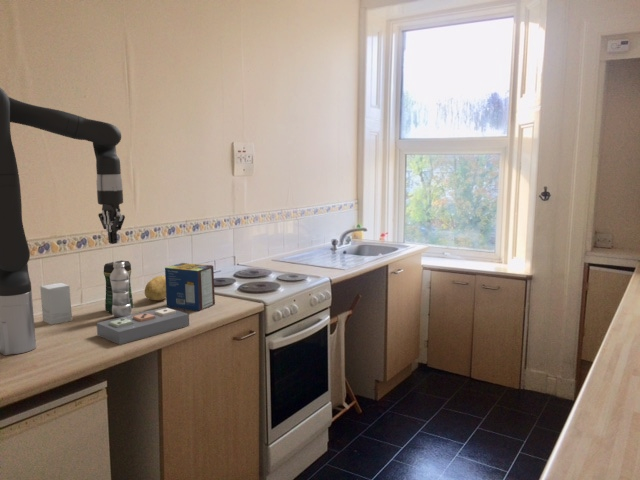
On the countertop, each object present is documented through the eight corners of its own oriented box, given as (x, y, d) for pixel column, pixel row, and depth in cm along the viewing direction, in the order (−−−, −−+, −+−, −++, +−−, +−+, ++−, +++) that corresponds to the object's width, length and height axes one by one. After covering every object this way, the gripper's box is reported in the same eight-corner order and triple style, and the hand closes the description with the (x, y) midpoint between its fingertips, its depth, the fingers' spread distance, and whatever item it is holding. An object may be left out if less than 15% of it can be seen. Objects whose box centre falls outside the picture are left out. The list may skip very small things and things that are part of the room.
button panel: (119, 344, 158) (119, 331, 158) (97, 335, 167) (96, 322, 167) (189, 325, 177) (188, 314, 176) (165, 317, 186) (165, 306, 185)
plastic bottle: (125, 320, 184) (122, 263, 181) (108, 319, 185) (104, 263, 182) (135, 314, 190) (132, 260, 187) (118, 313, 191) (115, 260, 188)
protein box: (182, 300, 210) (181, 262, 208) (215, 304, 204) (214, 265, 202) (165, 307, 200) (163, 267, 198) (199, 311, 194) (197, 270, 192)
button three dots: (141, 332, 169) (141, 318, 168) (133, 329, 172) (132, 315, 171) (155, 328, 172) (154, 315, 172) (147, 325, 176) (146, 312, 175)
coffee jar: (117, 314, 190) (114, 264, 188) (101, 312, 194) (98, 262, 191) (137, 308, 199) (134, 260, 196) (121, 305, 202) (119, 258, 200)
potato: (180, 297, 215) (179, 274, 214) (152, 305, 203) (151, 281, 202) (162, 294, 220) (161, 272, 219) (135, 302, 208) (133, 278, 207)
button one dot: (163, 326, 175) (163, 313, 174) (155, 323, 178) (154, 310, 177) (176, 323, 178) (175, 310, 178) (168, 320, 182) (167, 307, 181)
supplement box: (72, 320, 183) (70, 285, 182) (50, 325, 178) (47, 289, 176) (64, 316, 188) (61, 282, 186) (42, 321, 183) (39, 285, 181)
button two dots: (118, 338, 163) (117, 324, 162) (110, 335, 166) (109, 321, 165) (133, 334, 166) (132, 320, 166) (125, 331, 170) (124, 317, 169)
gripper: (88, 188, 167) (91, 242, 169) (108, 190, 158) (112, 246, 160) (110, 188, 172) (113, 240, 175) (131, 189, 164) (134, 244, 166)
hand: (113, 243), depth 167 cm, fingers closed
